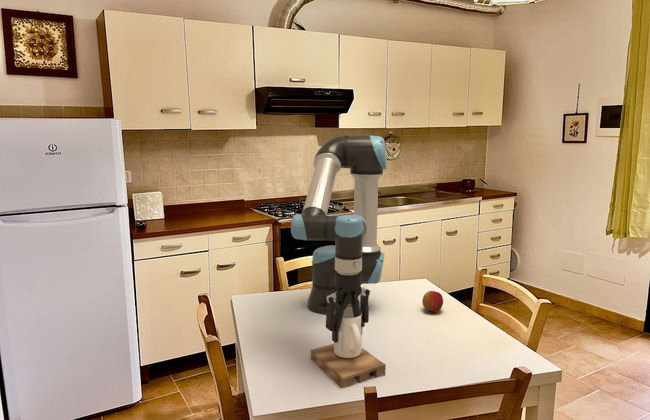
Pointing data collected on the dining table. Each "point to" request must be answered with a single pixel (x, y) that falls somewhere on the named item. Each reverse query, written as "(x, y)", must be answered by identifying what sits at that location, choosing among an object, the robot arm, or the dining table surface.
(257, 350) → the dining table surface
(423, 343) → the dining table surface
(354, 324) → the mug
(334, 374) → the wooden pallet
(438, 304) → the apple
